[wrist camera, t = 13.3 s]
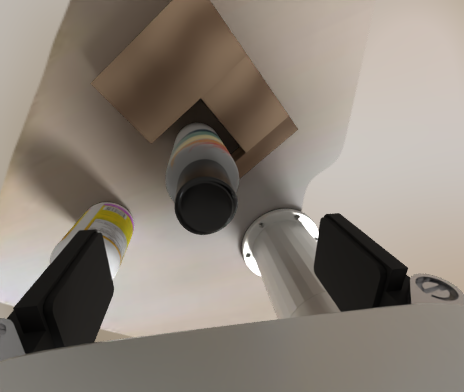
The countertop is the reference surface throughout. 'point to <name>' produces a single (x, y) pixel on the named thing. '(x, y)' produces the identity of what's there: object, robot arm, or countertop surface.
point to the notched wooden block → (195, 81)
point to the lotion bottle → (202, 180)
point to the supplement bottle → (104, 231)
